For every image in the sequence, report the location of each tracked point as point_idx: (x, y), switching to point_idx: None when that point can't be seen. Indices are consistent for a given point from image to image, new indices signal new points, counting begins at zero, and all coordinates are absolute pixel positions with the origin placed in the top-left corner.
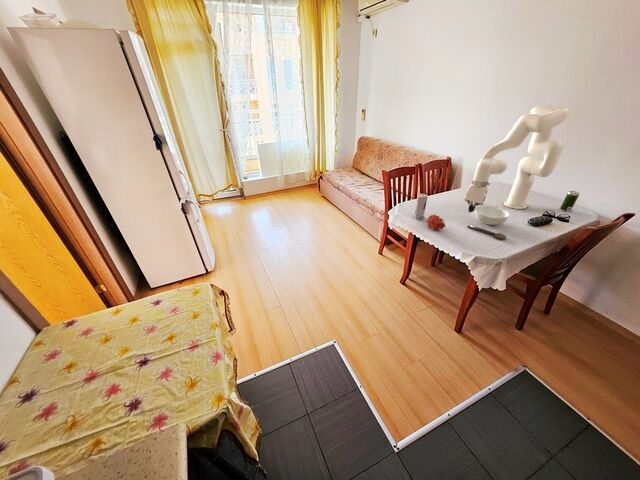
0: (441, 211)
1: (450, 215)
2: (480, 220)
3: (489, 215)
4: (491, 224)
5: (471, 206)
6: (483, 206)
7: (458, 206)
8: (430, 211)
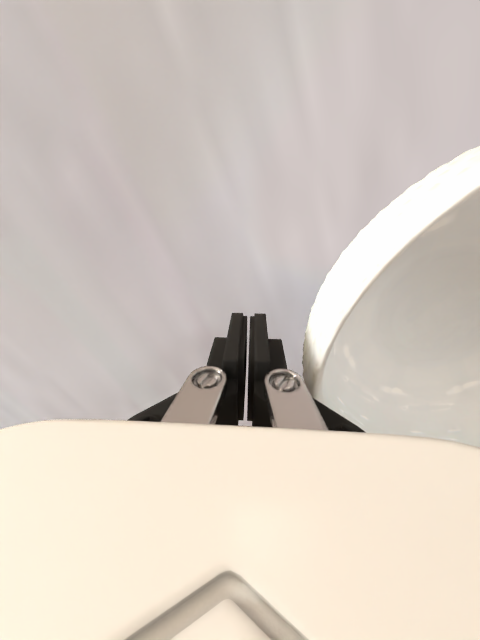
0: (45, 360)
1: (135, 379)
2: (378, 424)
3: (460, 213)
4: (467, 393)
5: (243, 415)
6: (413, 241)
7: (12, 106)
8: (11, 402)
